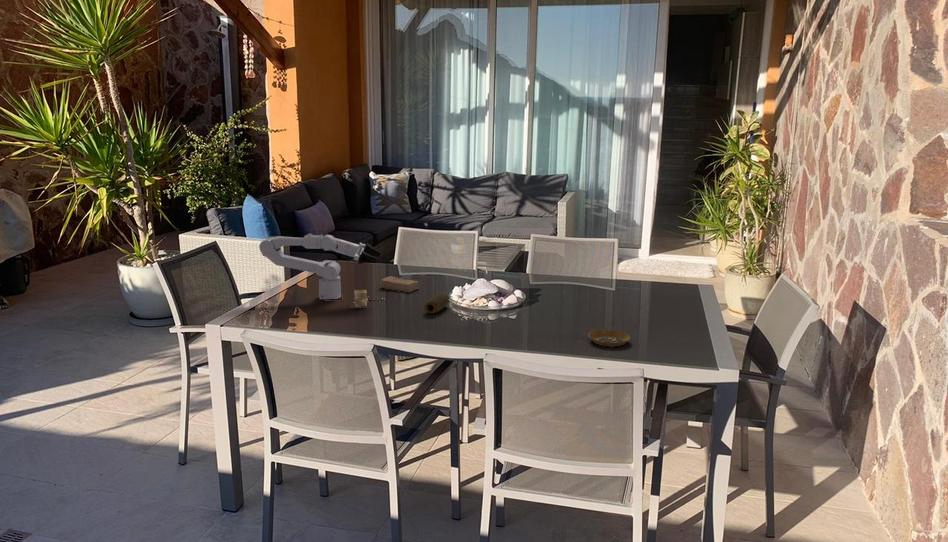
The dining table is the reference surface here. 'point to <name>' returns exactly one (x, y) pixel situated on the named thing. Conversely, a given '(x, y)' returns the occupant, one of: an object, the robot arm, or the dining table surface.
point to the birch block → (360, 298)
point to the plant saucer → (609, 337)
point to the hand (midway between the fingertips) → (378, 257)
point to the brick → (399, 284)
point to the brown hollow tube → (436, 303)
